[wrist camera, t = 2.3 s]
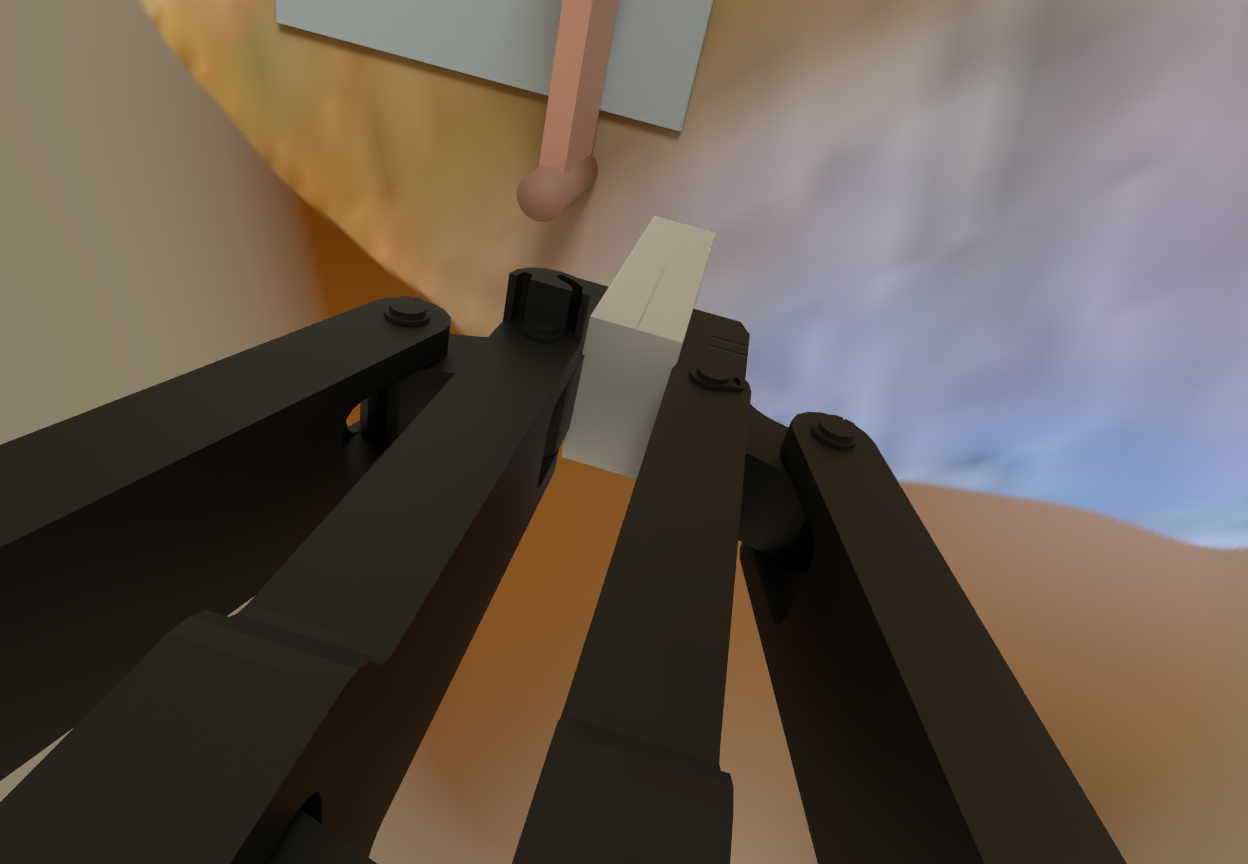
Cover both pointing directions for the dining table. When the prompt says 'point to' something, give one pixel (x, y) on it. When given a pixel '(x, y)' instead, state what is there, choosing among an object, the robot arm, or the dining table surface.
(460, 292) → the dining table surface
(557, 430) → the robot arm
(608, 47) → the fence panel
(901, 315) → the dining table surface
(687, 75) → the mat
